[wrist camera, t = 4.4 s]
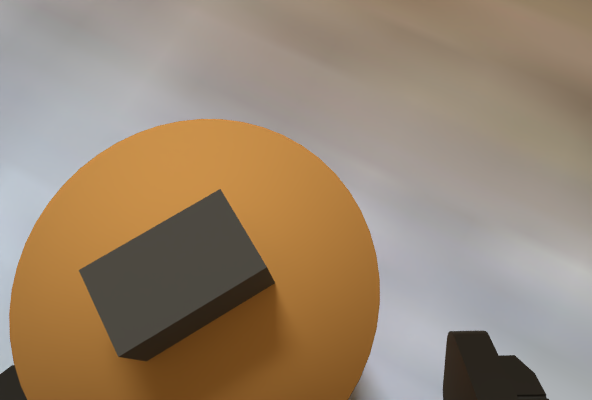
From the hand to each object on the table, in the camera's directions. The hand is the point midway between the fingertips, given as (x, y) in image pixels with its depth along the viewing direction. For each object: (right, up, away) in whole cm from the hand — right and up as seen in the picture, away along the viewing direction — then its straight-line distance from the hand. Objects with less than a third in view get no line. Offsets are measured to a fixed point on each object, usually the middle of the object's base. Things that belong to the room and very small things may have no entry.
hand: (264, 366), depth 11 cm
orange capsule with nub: (0, -1, +6) cm, 6 cm away
